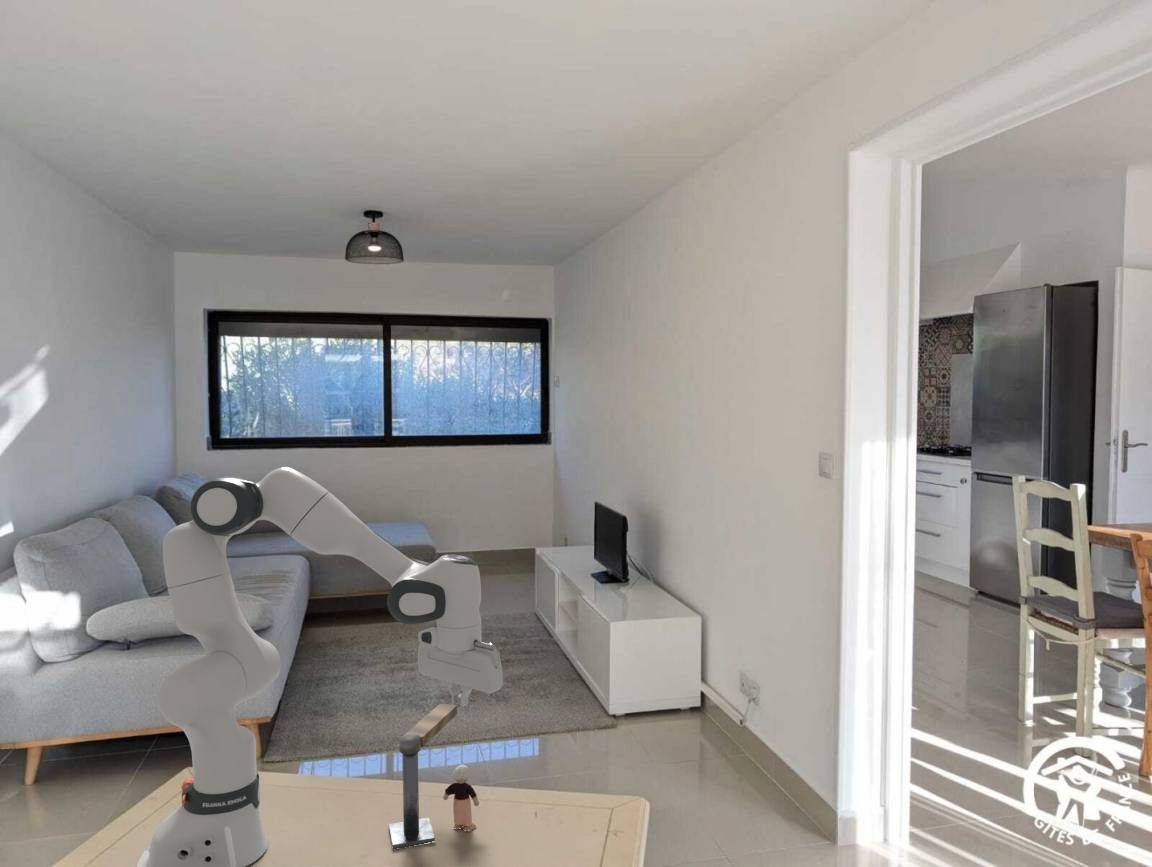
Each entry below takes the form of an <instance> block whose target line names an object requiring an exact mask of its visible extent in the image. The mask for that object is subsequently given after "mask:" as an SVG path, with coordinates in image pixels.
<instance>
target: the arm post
mask: <svg viewBox="0 0 1152 867" xmlns="http://www.w3.org/2000/svg"><path fill="white" fill-rule="evenodd" d="M401 754H402V753H401ZM401 759H402V802H403V803H402V805H403V806H402V809H403V812H402V814H403V818H402V820H403V821H400V822H393V823H389V824H388V831H390V832H389V836H391V837H390V842H392V843H391V847H393V848H392V850H393V849H396V850H398V849H397V848H401V849H406V848H405V847H407V848H410V847H409V846H413V847H415V846H414V845H419V844H424V843H428V842H432V841H435V842H436V838H435V834H434V830H433V827H432V824H431V820H430V817H424V818H420V804H419V801H420V799H419V797H420V796H419V752H417V753H415V754H402V758H401ZM424 845H425V844H424ZM419 846H420V845H419Z"/></svg>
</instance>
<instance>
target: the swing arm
mask: <svg viewBox="0 0 1152 867" xmlns="http://www.w3.org/2000/svg"><path fill="white" fill-rule="evenodd" d="M457 715H458V705H455V704H452V703H451V704H450V703H449V704H448V703H439V704H438V705H436V706H435V707H434V708H433V709H431V711H430V712H429V713H427V714H425V716H424V717H422V718H421V720H420V721H418V722H417V723H416V724H415V725H413V726H412V727H411V728H410V729H409V730H408V731H407V732H405V734H403V735H402V736H400V737H399V753H400V754H415V753H417V752H418V753H419V752H420V751H421V748H423V747H425V745H427V743H428V742H430V741H431V740H432V739H433V738H434V737H435V736H436V735H438V733H439V732H440V731H441V730H442V729H443V728H444V727H445V726H447V725H448V723H450V722H451V721H452V720H453V718H455V717H456V716H457Z"/></svg>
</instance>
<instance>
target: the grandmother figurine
mask: <svg viewBox="0 0 1152 867" xmlns="http://www.w3.org/2000/svg"><path fill="white" fill-rule="evenodd" d="M469 773H470V771H469V767H468V766H467V765H465V764H460V765H458V766H456V767H455V769H454V770H453V773H452V775H451V777H452V779H453V780H455V781H456V782H453V783H451V784H450V785H448V786H447V788H445V790H444V795H443V797H442V799H443V800H444V801H448V799H449V796H452V795H454V796H453V809H452V810H453V812H452V813H453V823H454V826H453V828H456V829H459V828H461V827H462V826H463V825H464V826H463V831H464V830H466V831H468V830H469V832H471V831H473V830H475V829H476V828H477V826H476V824H475V823H474V822H473V816H472V814H473V813H472V804H471V803H472V802H473V805H474V806H475V807H477V806H479V805H480V801H479V799H478V796H477V792H476V791H475V790H474V788H473V786H472V785H471V784H469V783H467V781H468V779H469ZM471 800H472V802H471ZM475 827H476V828H475ZM474 828H475V829H474ZM472 829H473V830H472ZM470 830H471V831H470ZM466 831H465V832H466Z"/></svg>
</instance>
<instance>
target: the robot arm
mask: <svg viewBox="0 0 1152 867" xmlns="http://www.w3.org/2000/svg"><path fill="white" fill-rule="evenodd" d="M189 505H190V506H189V507H190V508H189V510H190V515H191V518H192V520H190V521H186V522H184V523H180V524H178V525H176V526H175V527H173V528H171V529H170V530H169V531H168V532H167V533H166V534H165V536H164V537H163V541H162V559H163V569H164V577H165V581H166V582H165V583H166V587H167V591H168V592H167V593H168V596H169V600H170V604H171V609H172V614H173V617H174V622H175V625H176V627H177V628H178V629H179V631H180V632H182V633H183V634H186V635H188V636H192V637H195V638H196V639H197V640H198V641H199V643H200V645H201V646H202V648H203V650H204V652H205V655H204V656H201V657H198V658H197V659H194V660H192V661H190V662H187V663H185V664H183V665H181V666H180V667H178V668H177V669H176V670H174V671H173V672H171V673H170V674H169V675H168V676H166V677H165V678H164V679H163V680H162V681H161V683H160V684H159V687H158V690H157V696H156V697H157V700H156V701H157V705H158V709H159V711H160V714H161V715H162V716H163V718H164V719H165V720H166V721H167V722H169V724H171V725H173V726H175V727H178V728H180V729H181V731H183V733H184V734H185V736H186V737H187V739H188V742H189V743H188V744H189V747H190V750H191V758H192V760H191V761H192V775H193V778H190V777H189V778H185V779H184V780H183V782H182V785H181V791H182V792H181V804H182V805H180V806H179V807H178V808H177V809H175V810H174V811H173V812H172V813H171V814H169V815H168V816H166V817H165V818H164V819H163V820H162V821H161V822H160V823H159V824H158V826H157V827H156V829H155V831H154V833H153V834H152V838H151V842H150V845H149V846H148V847H147V848H146V849H145V850H144V851H143V852H142V854H141V855H140V857H139V858H138V861H137V864H136V867H247V866H249V865H250V864H253V863H254V862H256V861H257V860H259V859H260V858H261V857H263V855H264V854H265V853H266V851H267V850H268V844H269V843H268V839H267V838H266V835H265V831H264V829H263V828H264V827H263V823H262V819H261V818H262V817H261V812H260V803H261V781H260V774H259V772H258V771H257V740H256V736H255V734H254V732H253V731H252V730H250V729H249V728H247V727H245V726H244V725H241V724H239V723H238V719H237V715H236V710H237V707H238V706H239V705H241V704H243V703H245V702H247V701H249V700H252V699H253V698H255V697H257V696H259V695H260V694H262V693H263V692H264V691H265V690H267V689H268V688H269V687H270V686H271V685H272V684H273V683H274V682H276V680H277V679H278V677H279V676H280V673H281V671H282V670H281V669H282V660H281V657H280V654H279V653H280V652H279V651H278V649H277V648H276V646H274V645H273V644H272V643H271V642H270V641H268V640H266V639H264V638H262V637H261V636H259V635H258V634H257V633H256V632H255V631H254V630H253V629H252V627H251V626H250V625H249V623H248V621H247V620H246V619H245V617H244V615H243V612H242V610H241V608H240V605H239V600H238V597H237V592H236V590H235V585H234V581H233V579H232V574H231V570H230V566H229V562H228V557H227V544H228V542H229V541H231V540H233V539H234V538H236V537H238V536H240V535H242V534H244V533H246V532H247V531H250V529H252V528H254V526H256V525H257V524H258V523H259V522H260V521H268V522H270V523H273V524H274V525H275V526H277V527H279V528H280V529H281V530H283V531H284V532H285V533H286V534H287V535H289V536H290V537H291V538H293V539H294V540H295V542H297V543H299V544H300V545H302V546H303V547H305V548H307V549H309V550H310V551H312V552H314V553H316V554H318V555H323V556H329V555H330V556H331V555H340V556H341V555H342V556H348V557H351V558H354V559H356V560H358V561H360V562H362V563H363V564H364V565H366V566H367V567H368V568H370V569H371V570H373V571H374V572H375V573H377V574H378V575H379V576H381V577H382V578H384V579H385V580H386V581H387V582H388V583H389V584H390V585H391V588H390V589H389V592H388V594H387V600H386V601H387V603H386V604H387V609H388V611H389V612H390V615H391V616H392V617H393V619H395V620H396V621H397V622H399V623H402V624H404V625H419V624H423V623H424V624H425V623H428V622H429V623H430V622H432V621H433V622H434V621H436V625H434V626H431V627H428V628H426V629H423V630H420V631H419V632H418V633H417V634H418V635H417V638H418V641H419V644H418V648H417V667H418V668H417V669H418V671H419V672H420V674H421V675H422V676H425V677H428V678H433V679H435V680H436V679H437V680H440V681H443V682H446V687H447V689H448V692H449V693H450V696H451V705H457V707H458V706H460V707H462V708H465V707H467V706H468V705H469V697H470V695H471V693H472V691H473V690H475V691H479V692H483V693H486V694H493V693H495V692H497V691H499V690H501V688H503V685H504V676H503V666H502V660H501V654H500V651H499V650H498V648H497V647H496V646H495V645H494V644H493V643H491V642H489V643H487V642H484V641H482V636H483V634H482V633H483V632H482V616H481V614H480V613H481V612H480V606H481V602H482V585H481V584H482V582H481V575H480V574H481V573H480V569H479V566H478V564H477V562H476V561H475V560H473V558H471V557H468V556H465V555H460V554H453V553H451V554H444V555H441V556H439V558H437V560H435V561H434V562H432V563H430V562H427V561H424V560H419V559H416V558H413V557H410V556H408V555H407V554H405V553H403V551H401V550H399V549H398V548H397V547H396V546H394V545H393V543H390V542H389V541H387V540H386V539H385V538H383V537H382V536H381V535H379V534H378V533H377V532H375V531H374V530H372V529H371V528H370V527H368V526H367V525H366V523H364V522H363V521H362V520H361V519H360V518H359V517H358V516H357V515H355V513H353V511H351V510H350V509H349V508H348V507H347V506H346V505H345V504H344V503H343V502H342V501H341V500H339V498H338V497H336V496H335V495H334V494H333V493H331V492H330V491H329V490H328V489H327V488H325V487H324V486H322V485H321V484H319V483H318V482H317V481H315V480H313V479H312V478H310V477H309V476H307V475H306V474H304V473H302V472H300V471H298V470H296V469H294V468H292V467H288V466H282V467H277V468H275V469H273V470H272V471H270V472H268V473H267V474H266V475H265V476H264V477H263V478H262V479H260V481H257V482H256V483H255V482H253V481H251V480H248V479H244V478H242V477H238V476H224V477H217V478H216V477H215V478H213V479H210V480H207V481H205V482H204V483H203V484H201V485H199V487H198V488H197V489H196V490H195V492H194V493H193V495H192V498H191V500H190V504H189ZM459 686H460V688H459ZM461 691H462V692H461Z"/></svg>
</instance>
